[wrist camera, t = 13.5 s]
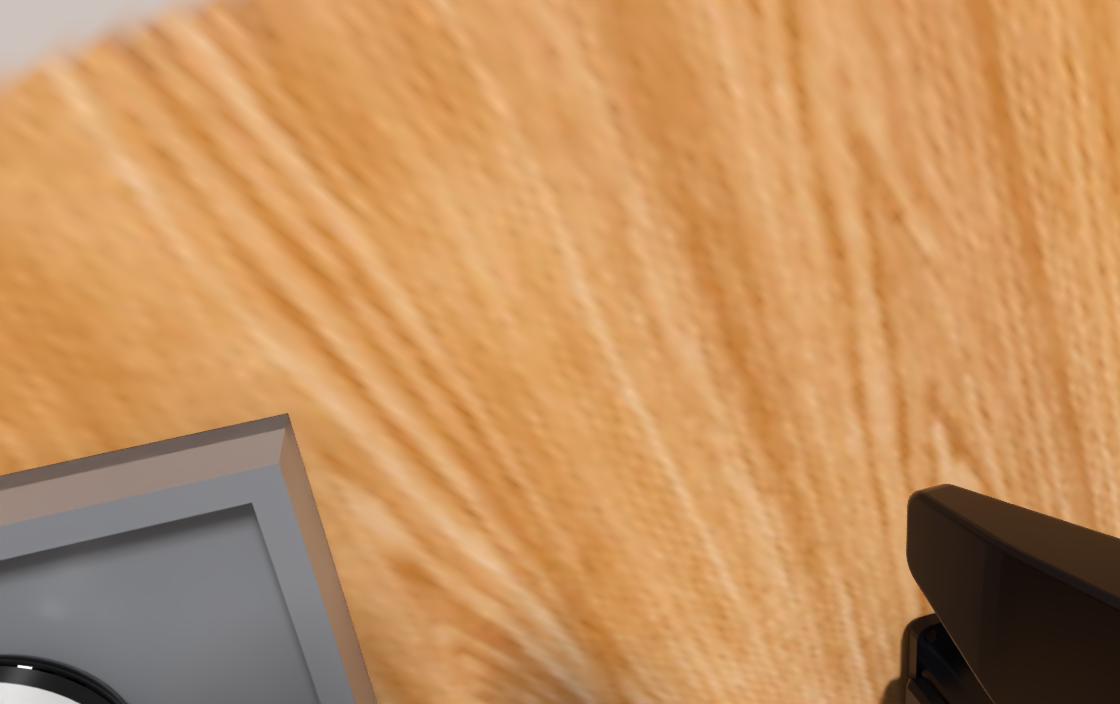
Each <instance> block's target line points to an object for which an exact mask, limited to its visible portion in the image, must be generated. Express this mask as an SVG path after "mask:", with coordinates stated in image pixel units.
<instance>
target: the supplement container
mask: <svg viewBox="0 0 1120 704" xmlns="http://www.w3.org/2000/svg"><path fill="white" fill-rule="evenodd" d="M0 704H125V703H124V702H123V701H122V700H121V699H120V698H119V697H118V696H117V695H116V694H115V693H114V692H113V691H112V690H111V689H110V688H108V687H107V686H106V685H104V684H103V683H102V682H100V681H99V680H97V679H96V678H94V677H92V676H91V675H89V674H87V673H85V672H83V671H81V670H79V669H77V668H75V667H72V666H70V665H67V664H64V663H61V662H58V661H55V660H51V659H46V658H42V657H36V656H29V655H19V654H0Z"/></svg>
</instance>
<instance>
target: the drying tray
mask: <svg viewBox="0 0 1120 704" xmlns="http://www.w3.org/2000/svg"><path fill="white" fill-rule="evenodd" d="M0 654H19V655H29V656H36V657H42V658H46V659H51V660H55V661H58V662H61V663H64V664H67V665H70V666H72V667H75V668H77V669H79V670H81V671H83V672H85V673H87V674H89V675H91V676H92V677H94V678H96V679H97V680H99V681H100V682H102V683H103V684H104V685H106V686H107V687H108V688H110V689H111V690H112V691H113V692H114V693H115V694H116V695H117V696H118V697H119V698H120V699H121V700H122V701H123V702H124V703H125V704H377V702H376V699H375V695H374V692H373V689H372V686H371V682H370V679H369V676H368V672H367V669H366V666H365V663H364V659H363V656H362V653H361V650H360V646H359V643H358V640H357V637H356V633H355V630H354V627H353V624H352V620H351V617H350V614H349V611H348V607H347V604H346V601H345V598H344V594H343V591H342V588H341V584H340V581H339V578H338V575H337V571H336V568H335V565H334V562H333V558H332V555H331V552H330V549H329V545H328V542H327V539H326V536H325V532H324V529H323V526H322V523H321V519H320V516H319V513H318V510H317V506H316V503H315V500H314V497H313V493H312V490H311V487H310V483H309V480H308V477H307V474H306V470H305V467H304V464H303V461H302V457H301V454H300V451H299V448H298V444H297V441H296V438H295V435H294V431H293V428H292V425H291V422H290V418H289V415H288V413H287V414H282V415H278V416H273V417H268V418H264V419H259V420H255V421H250V422H245V423H241V424H236V425H232V426H227V427H222V428H218V429H213V430H209V431H204V432H199V433H195V434H190V435H186V436H181V437H176V438H172V439H167V440H163V441H158V442H153V443H149V444H144V445H140V446H135V447H130V448H126V449H121V450H117V451H112V452H107V453H103V454H98V455H94V456H89V457H84V458H80V459H75V460H71V461H66V462H61V463H57V464H52V465H48V466H43V467H38V468H34V469H29V470H25V471H20V472H15V473H11V474H6V475H2V476H0Z"/></svg>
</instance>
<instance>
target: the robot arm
mask: <svg viewBox="0 0 1120 704" xmlns="http://www.w3.org/2000/svg"><path fill="white" fill-rule="evenodd" d="M906 556H907V562H908V566H909V569H910V571H911V574H912V576H913V578H914V579H915V581H916V583H917V584H918V586H919V587H920V589H921V591H922V592H923V594H924V595H925V597H926V599H927V600H928V602H929V603H930V605H931V606H932V608H933V610H934V611H935V613H936V614H933V615H929V616H925V617H923V618H921V619H919V620H917V621H916V622H915V623H914V624H913V626H912V627H911V630H910V645H909V680H908V683H907V686H906V704H1120V539H1119V538H1116V537H1113V536H1110V535H1107V534H1104V533H1101V532H1097V531H1094V530H1091V529H1088V528H1085V527H1082V526H1079V525H1076V524H1073V523H1069V522H1066V521H1063V520H1060V519H1057V518H1054V517H1051V516H1048V515H1045V514H1042V513H1038V512H1035V511H1032V510H1029V509H1026V508H1023V507H1020V506H1017V505H1014V504H1010V503H1007V502H1004V501H1001V500H998V499H995V498H992V497H989V496H986V495H983V494H979V493H976V492H973V491H970V490H967V489H964V488H961V487H958V486H955V485H951V484H942V485H938V486H934V487H930V488H926V489H922V490H918V491H915V492H914V493H913V494H912V495H911V496H910V498H909V500H908V506H907V541H906Z"/></svg>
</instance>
